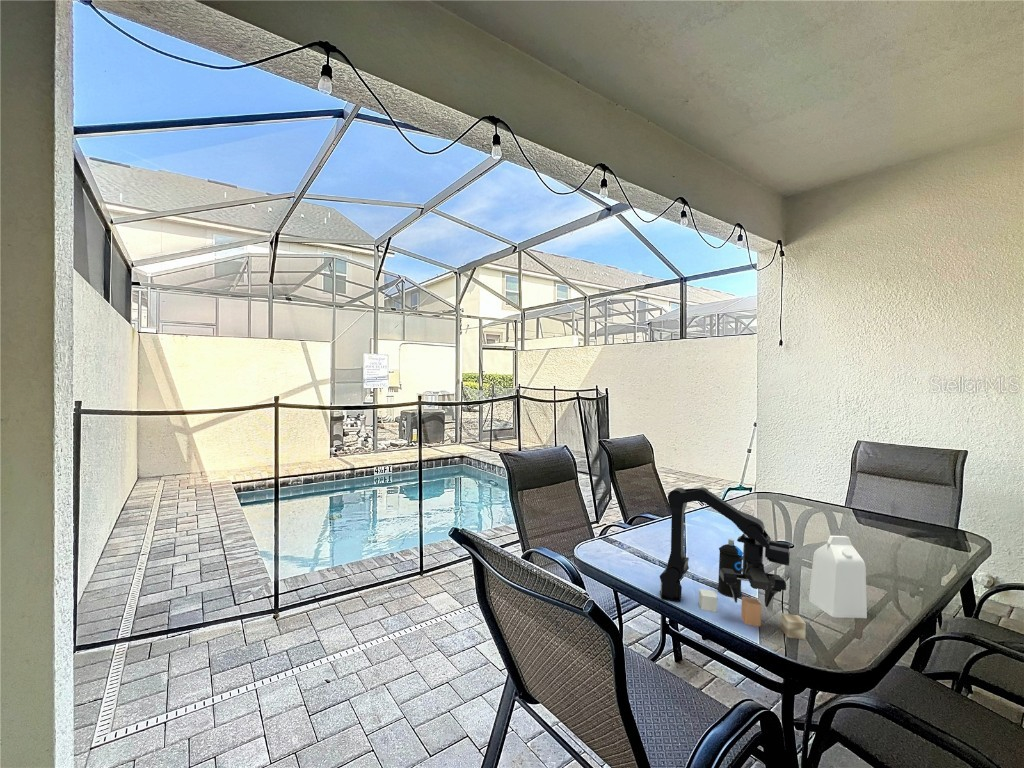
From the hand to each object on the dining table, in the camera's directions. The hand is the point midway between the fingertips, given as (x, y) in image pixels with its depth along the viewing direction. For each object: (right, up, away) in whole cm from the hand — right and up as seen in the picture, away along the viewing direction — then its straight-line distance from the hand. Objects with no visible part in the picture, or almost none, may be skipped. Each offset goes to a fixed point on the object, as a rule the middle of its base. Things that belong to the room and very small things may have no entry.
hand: (750, 604), depth 142 cm
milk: (+37, -8, +11) cm, 39 cm away
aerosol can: (+3, -6, +21) cm, 22 cm away
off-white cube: (-11, -5, +8) cm, 15 cm away
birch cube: (+10, -6, -6) cm, 13 cm away
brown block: (0, -6, 0) cm, 6 cm away
